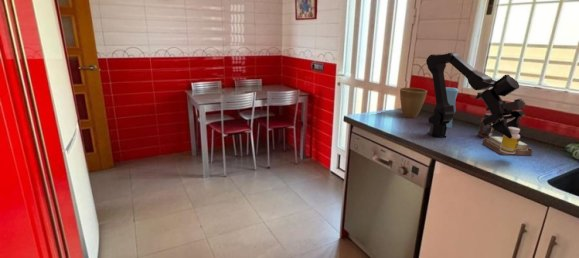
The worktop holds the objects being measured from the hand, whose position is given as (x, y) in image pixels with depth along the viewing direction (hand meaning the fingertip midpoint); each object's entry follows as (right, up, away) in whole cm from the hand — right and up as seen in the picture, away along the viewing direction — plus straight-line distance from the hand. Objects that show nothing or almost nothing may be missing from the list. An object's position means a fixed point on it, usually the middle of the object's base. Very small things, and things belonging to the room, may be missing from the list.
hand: (515, 137), depth 122 cm
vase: (-4, +5, +50) cm, 50 cm away
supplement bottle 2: (-1, -6, +3) cm, 7 cm away
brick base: (+8, -6, +17) cm, 19 cm away
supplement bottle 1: (+9, -1, +33) cm, 34 cm away
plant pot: (-16, +11, +66) cm, 69 cm away
